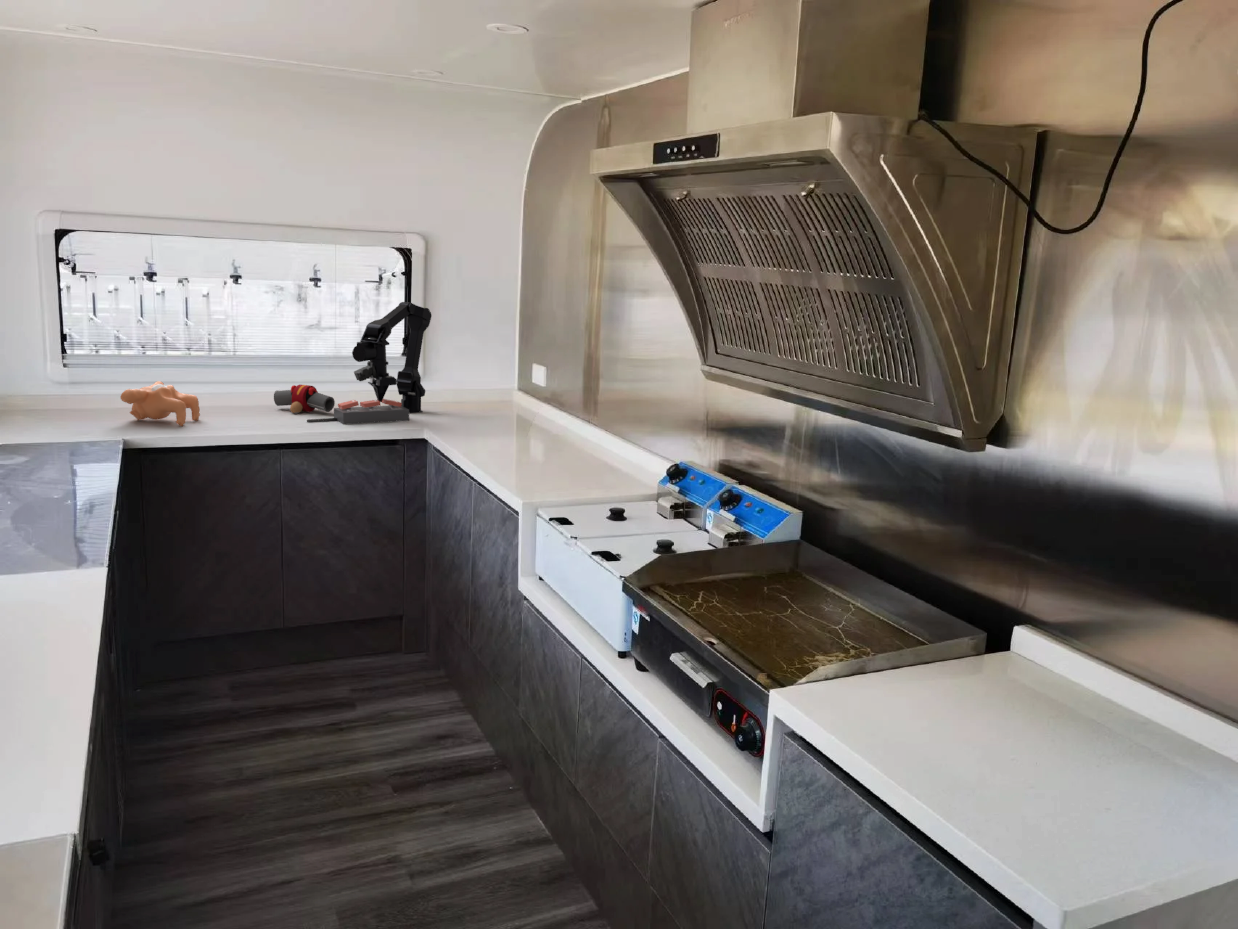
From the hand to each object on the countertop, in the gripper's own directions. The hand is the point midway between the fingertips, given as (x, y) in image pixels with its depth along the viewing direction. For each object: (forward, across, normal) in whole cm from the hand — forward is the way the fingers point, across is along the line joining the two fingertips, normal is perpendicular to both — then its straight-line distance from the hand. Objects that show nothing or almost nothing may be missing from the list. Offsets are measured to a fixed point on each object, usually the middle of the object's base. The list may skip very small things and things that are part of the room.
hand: (379, 402), depth 346 cm
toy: (+5, -22, -20) cm, 30 cm away
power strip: (+6, +1, -9) cm, 11 cm away
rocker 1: (0, 0, -12) cm, 12 cm away
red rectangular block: (+1, 0, +4) cm, 4 cm away
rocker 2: (0, 0, -4) cm, 4 cm away
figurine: (+3, -15, -70) cm, 71 cm away
